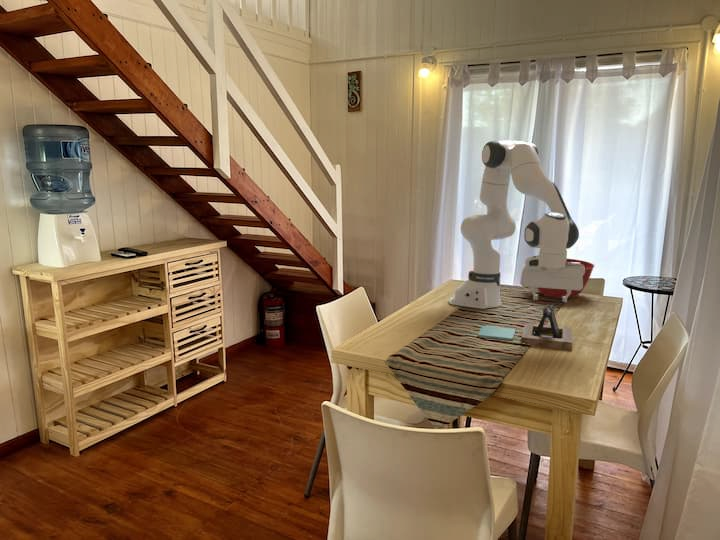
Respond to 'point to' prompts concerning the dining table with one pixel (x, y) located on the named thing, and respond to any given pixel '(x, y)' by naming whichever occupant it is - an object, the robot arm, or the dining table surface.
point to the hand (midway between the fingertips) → (549, 300)
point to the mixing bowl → (562, 292)
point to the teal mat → (497, 332)
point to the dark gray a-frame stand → (552, 322)
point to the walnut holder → (546, 341)
